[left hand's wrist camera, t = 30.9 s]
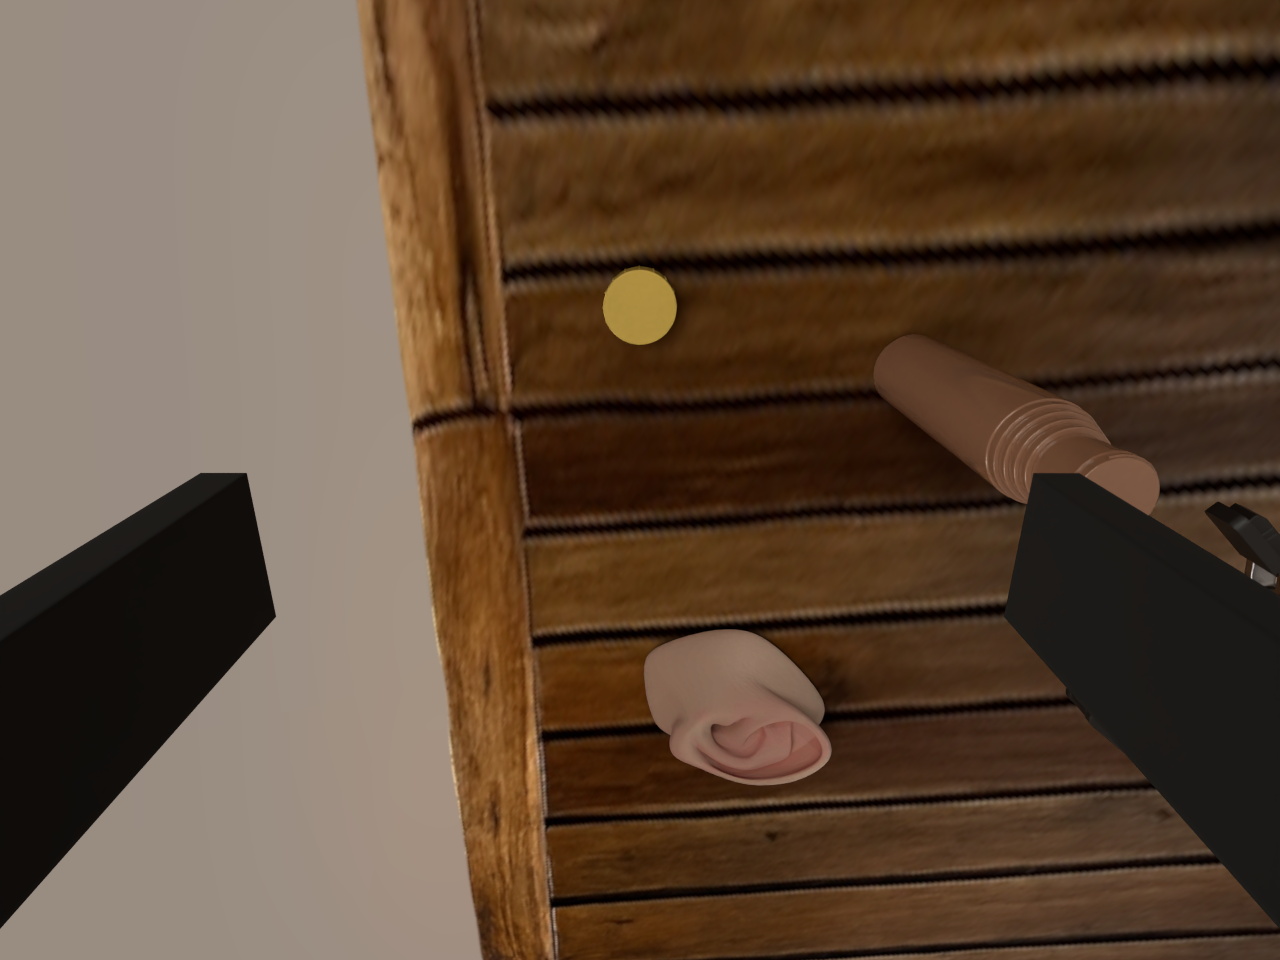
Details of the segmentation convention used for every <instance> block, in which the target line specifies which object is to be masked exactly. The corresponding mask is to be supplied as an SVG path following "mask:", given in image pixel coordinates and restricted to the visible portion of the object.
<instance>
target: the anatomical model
mask: <svg viewBox="0 0 1280 960" xmlns="http://www.w3.org/2000/svg"><path fill="white" fill-rule="evenodd" d="M644 679H645V688H646V695H647V700H648V704H649V707H650V710H651V713H652V716H653V718H654V720H655V722H656V724H657V725H658V726H659V728H660V729H662V730H663V731H664V732H666V733H668V734H669V735H671V737H670V749H671V752H672V753H673V755H674V756H675V757H676V758H678V759H679V760H681V761H683V762H685V763H688V764H690V765H693V766H695V767H698V768H700V769H703V770H705V771H707V772H710V773H712V774H715V775H717V776H720V777H723V778H725V779H728V780H731V781H735V782H739V783H743V784H750V785H774V784H783V783H788V782H792V781H796V780H799V779H802V778H804V777H806V776H808V775H810V774H812V773H814V772H816V771H817V770H819V769H820V768H821V767H823V766H824V765H825V764H826V763H827V761H828V760H829V758H830V756H831V743H830V741H829V739H828V737H827V735H826V734H825V732H824V731H823V730H822V728H821V727H820V726H819V724H820V722H821V721H822V719H823V716H824V712H825V708H824V703H823V700H822V698H821V696H820V694H819V693H818V691H817V690H816V688H815V687H814V686H813V684H812V683H811V682H810V681H809V679H808V678H807V677H806V676H805V675H804V673H803V672H802V671H801V670H800V669H799V668H798V667H797V666H796V665H795V664H794V663H793V662H792V661H791V660H790V659H789V658H788V657H787V656H786V655H784V654H783V653H782V652H781V651H780V650H779V649H778V648H776V647H775V646H774V645H772V644H771V643H770V642H769V641H767V640H765V639H764V638H762V637H760V636H758V635H756V634H754V633H751V632H748V631H743V630H736V629H724V630H713V631H706V632H701V633H697V634H693V635H689V636H685V637H682V638H679V639H675V640H673V641H670V642H667V643H665V644H663V645H661V646H659V647H657V648H656V649H654V650H653V651H652V652H651V653H650V654H649V655H648V656H647V658H646V661H645V665H644Z"/></svg>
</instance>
